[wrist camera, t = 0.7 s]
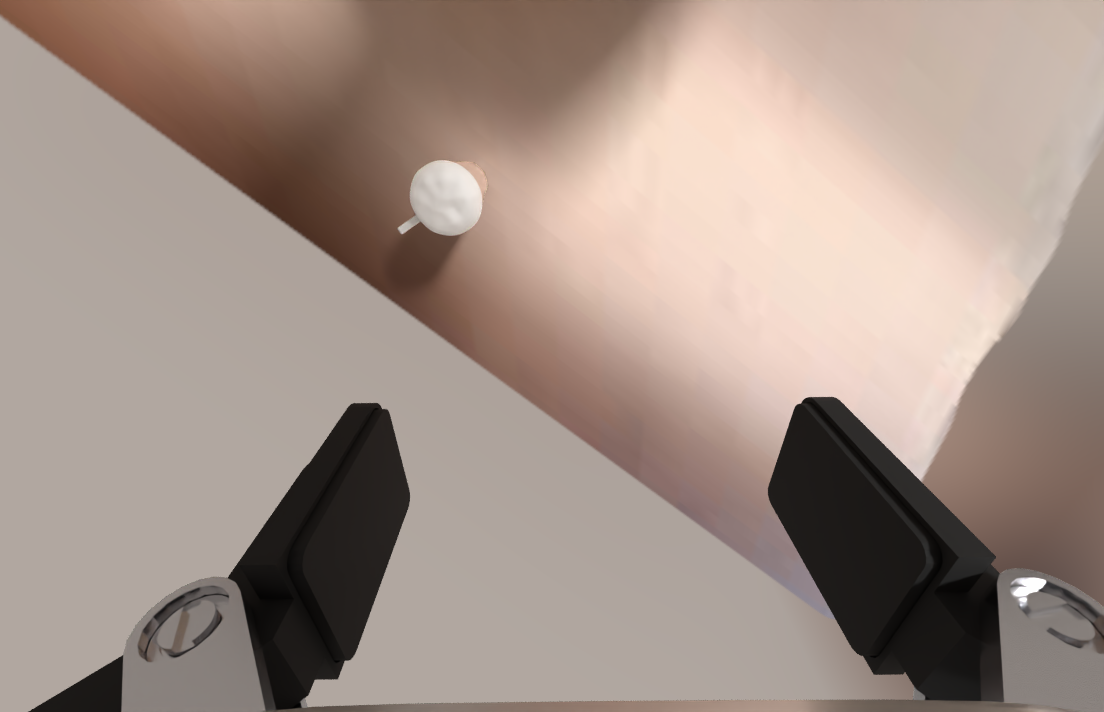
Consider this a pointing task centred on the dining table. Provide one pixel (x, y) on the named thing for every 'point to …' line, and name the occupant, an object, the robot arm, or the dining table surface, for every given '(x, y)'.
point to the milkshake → (447, 197)
